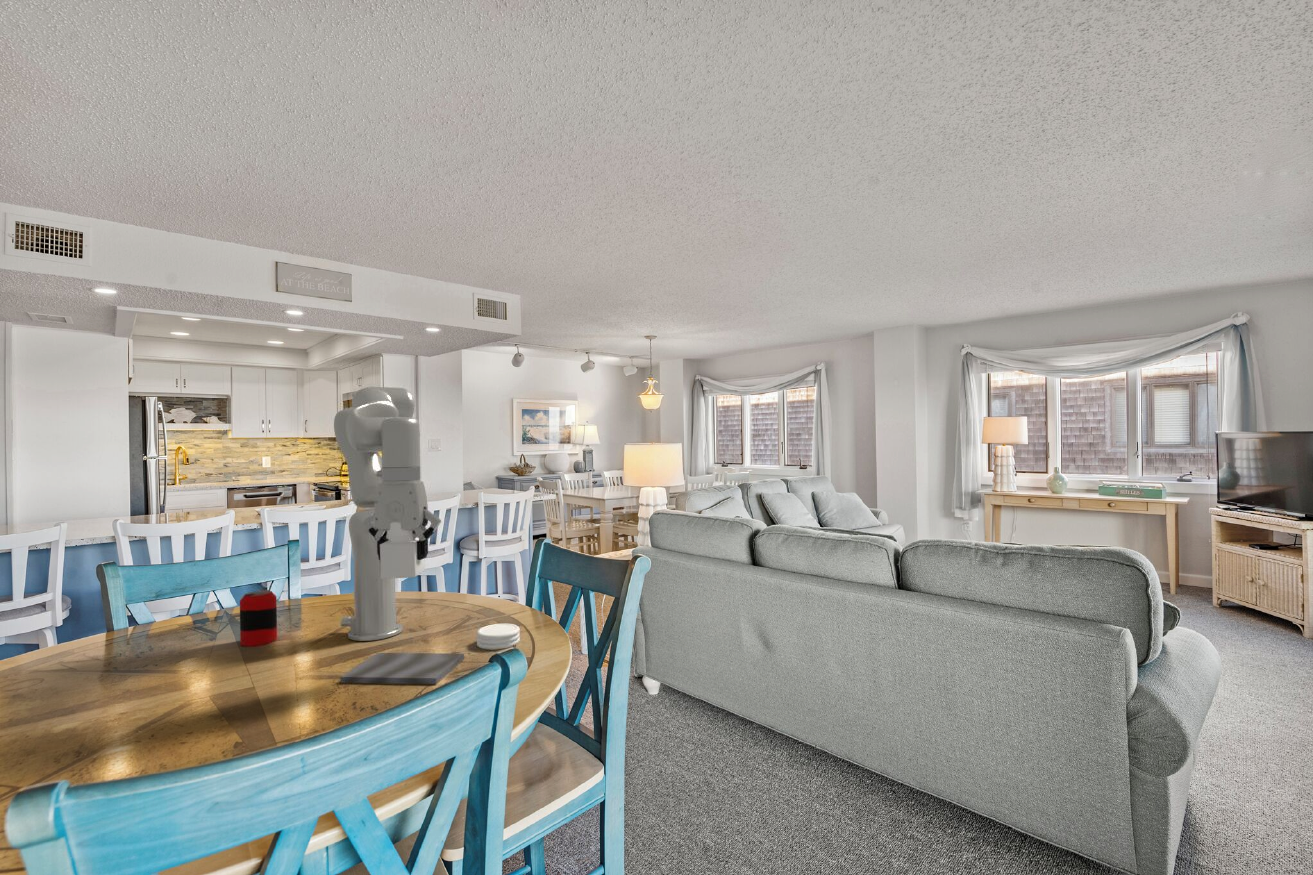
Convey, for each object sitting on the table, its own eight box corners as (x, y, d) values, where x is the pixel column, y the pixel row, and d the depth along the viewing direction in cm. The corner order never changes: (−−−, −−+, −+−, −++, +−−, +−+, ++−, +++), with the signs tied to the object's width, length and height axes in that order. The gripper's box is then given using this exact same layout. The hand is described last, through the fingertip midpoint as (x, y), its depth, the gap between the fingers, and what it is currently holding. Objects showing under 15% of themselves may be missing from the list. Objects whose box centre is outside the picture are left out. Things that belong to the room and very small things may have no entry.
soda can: (233, 645, 149) (232, 595, 149) (263, 635, 156) (262, 588, 156) (254, 648, 146) (253, 598, 146) (284, 638, 153) (283, 590, 153)
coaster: (507, 652, 141) (507, 636, 141) (468, 649, 144) (468, 634, 144) (527, 638, 151) (526, 623, 151) (490, 635, 153) (490, 621, 153)
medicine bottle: (391, 571, 134) (390, 516, 134) (425, 570, 134) (424, 515, 134) (379, 579, 127) (378, 520, 127) (415, 577, 127) (414, 519, 127)
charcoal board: (340, 682, 124) (340, 676, 124) (377, 657, 138) (377, 652, 138) (436, 684, 123) (436, 678, 123) (464, 658, 137) (464, 653, 137)
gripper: (351, 477, 128) (353, 562, 128) (433, 476, 126) (434, 562, 126) (371, 475, 135) (373, 555, 135) (448, 474, 134) (450, 555, 134)
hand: (402, 558), depth 131 cm, fingers closed on medicine bottle, 7 cm apart
